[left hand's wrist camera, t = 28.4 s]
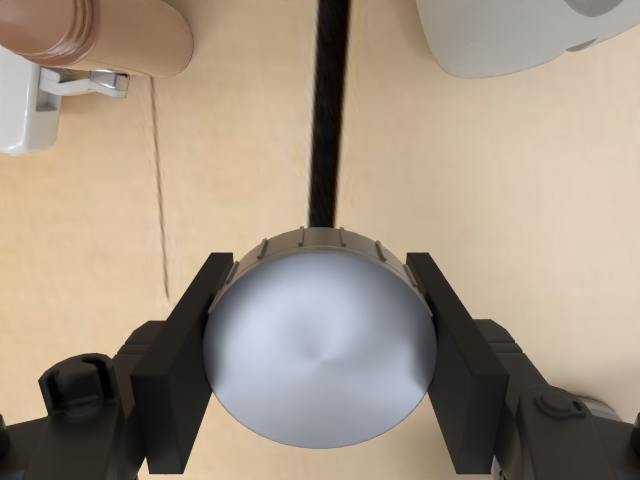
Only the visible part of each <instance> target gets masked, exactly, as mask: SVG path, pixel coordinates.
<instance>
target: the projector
mask: <svg viewBox="0 0 640 480" xmlns="http://www.w3.org/2000/svg"><path fill="white" fill-rule="evenodd" d="M415 1H416V6H417V10H418V14H419V18H420V21H421V25H422V28H423V32H424V35H425V38H426V40H427V43H428V46H429V48H430V51H431V53H432V55H433V57H434V59H435V60H436V62H437V64H438V65H439V66H440V67H441V68H442V69H443V70H444V71H445V72H446V73H448V74H450V75H452V76H455V77H458V78H465V79H484V78H492V77H498V76H503V75H507V74H511V73H515V72H519V71H522V70H525V69H528V68H532V67H535V66H538V65H541V64H544V63H547V62H550V61H552V60H554V59H556V58H557V57H559V56H560V55H561V54H562V53H563V52H564V51H565V50H566V51H570V52H575V51H580V50H582V49H585V48H588V47H590V46H593V45H595V44H598V43H600V42H602V41H605V40H607V39H610V38H612V37H614V36H616V35H618V34H620V33H622V32H625V31H627V30H629V29H631V28H632V27H634V26H636V25H638V24H640V0H415Z"/></svg>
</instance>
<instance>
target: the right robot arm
mask: <svg viewBox="0 0 640 480" xmlns="http://www.w3.org/2000/svg"><path fill="white" fill-rule="evenodd" d="M78 78H79V77H78V75H77V74H75V73H72V72H69V71H67V70H65V69H62V68H51V67H45V66H40V65H38V64H35V63H32V62H30V61H28V60H27V59H25V58H23V57H22V56H20V55H17V54H15V53H13V52H11V51H9V50H8V49H6V48H4V47H2V46H1V45H0V152H1V153H4V154H7V155H12V156H23V155H29V154H34V153H38V152H41V151H43V150H45V149H48V148H50V147H52V146H53V145H54V144H55V142H56V137H57V129H58V122H59V114H60V106H61V99H62V95H81V94H86V93H91V92H96V91H98V92H100V93H103V94H106V95H109V96H112V97H116V98H126V95H127V90H128V84H129V79H130V76H129V75H127V74H116V73H105V72H94V71H91V75H90V78H85V79H80V80H78Z"/></svg>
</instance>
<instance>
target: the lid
mask: <svg viewBox="0 0 640 480" xmlns="http://www.w3.org/2000/svg"><path fill="white" fill-rule="evenodd" d="M207 315H209V316H208V319H207V322H206V325H205V328H204V333H203V338H202V351H203V360H204V368H205V374H206V377H207V380H208V382H209V385H210V387H211V389H212V391H213V393H214V394H215V396H216V397H217V399H218V401H219V402H220V403H221V404H222V406H223V407H224V408H225V409H226V410H227V412H228V413H230V414H231V415H232V416H233V417H234V418H235V419H236V420H237V421H238V422H240V423H241V424H243V425H244V426H245V427H247V428H248V429H250V430H252V431H253V432H255V433H257V434H259V435H261V436H263V437H265V438H268V439H270V440H272V441H276V442H279V443H282V444H285V445H290V446H295V447H301V448H312V449H328V448H338V447H344V446H349V445H354V444H358V443H361V442H364V441H367V440H370V439H372V438H374V437H377V436H379V435H381V434H383V433H384V432H386V431H388V430H390V429H391V428H393V427H394V426H396V425H397V424H398V423H400V422H401V421H403V420H404V419H405V418H406V417H407V416H408V415H409V414H410V413H411V412H412V411H413V410H414V409H415V408H416V406H417V405H418V404H419V403H420V402H421V400H422V399H423V397H424V395H425V394H426V392H427V391H428V388H429V386H430V384H431V382H432V379H433V376H434V373H435V365H436V357H437V348H438V340H437V335H436V330H435V325H434V323H433V320H432V319H434V317H433V314H432V312H431V310H430V308H429V306H428V304H427V302H426V300H425V298H424V296H423V294H420V292H419V290H418V288H417V283H416V281H415V279H414V277H413V275H412V273H411V271H410V269H409V267H408V266H407V264H404V265H403V264H402V262H401V261H400V260H399V259H398V258H397V257H395V256H394V255H393V254H392V253H391V252H390V251H389V250H387V249H386V248H385V247H383V246H382V245H381V242H380V241H378V240H377V241H376V242H375V241H373V240H371V239H369V238H367V237H365V236H362V235H360V234H357V233H354V232H350V231H346V230H344V228H343V227H340V229H334V228H305V229H304V226H303V227H300V229H298V230H294V231H290V232H286V233H283V234H280V235H278V236H275V237H273V238H270V239H268V240H267V239H266V238H265V239H263V241H262V243H261V244H260V245H258V246H257V247H255V248H254V249H253V250H251V251H250V252H249V253H247V254H246V255H245V256H244V257H243V258H242V259H241V260H240V261H239V262H238V261H236V262H235V263H234V265H233V267H232V269H231V271H230V273H229V275H228V277H227V279H226V281H225V284H224V286H223V288H222V290H221V291H220V290H219V291H218V293H217V294H216V296H215V298H214V300H213V302H212V304H211V306H210V308H209V310H208V312H207Z"/></svg>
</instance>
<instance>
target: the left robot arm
mask: <svg viewBox="0 0 640 480" xmlns="http://www.w3.org/2000/svg"><path fill="white" fill-rule="evenodd" d="M406 264H407V266H408V267H409V269H410V271H411V273H412V275H413V277H414V279H415V281H416V283H417V288H418V290H419V292H420V294H423V296H424V298H425V300H426V302H427V304H428V306H429V308H430V310H431V312H432V314H433V317H434V319H432V320H433V323H434V325H435V330H436V335H437V340H438V348H437V357H436V365H435V373H434V376H433V379H432V382H431V384H430V386H429V388H428V391H427V392H428V395H429V398H430V400H431V403H432V406H433V409H434V412H435V414H436V417H437V420H438V423H439V426H440V428H441V431H442V434H443V437H444V440H445V443H446V445H447V448H448V451H449V454H450V457H451V459H452V462H453V465H454V468H455V471H456V473H457V474H490V473H491V474H492V476H493V478H494V480H640V412H639V413H638V416H637V418H636V421H635V424H630V423H625V422H623V421H622V420H621V419H620V418H619V417H618V416H617V414H616V413H615V412H614V411H613V410H611V409H610V408H609V407H607V406H606V405H604V404H602V403H600V402H598V401H596V400H593V399H589V398H585V397H578V396H575V395H573V394H571V393H569V392H567V391H565V390H563V389H560V388H557V387H554V386H550V385H549V384H548V383H547V382H546V380H545V379H544V378H543V376H542V375H541V374H540V373H539V371H538V370H537V369H536V367H535V366H534V365H533V364H532V362H531V361H530V360H529V358H528V357H527V356H526V355H525V353H523V351H522V349H521V348H520V347H519V346H518V344H517V343H515V340H514V339H513V338H512V337H511V335H510V334H509V333H508V331H507V330H506V329H505V328H503V327H502V326H500V325H499V324H497V323H496V322H494V321H493V320H491V319H472V317H471V316H470V314H469V313H468V311H467V310H466V308H465V307H464V305H463V304H462V302H461V301H460V299H459V298H458V296H457V295H456V293H455V292H454V290H453V289H452V287H451V286H450V284H449V283H448V281H447V280H446V278H445V277H444V275H443V274H442V272H441V271H440V269H439V268H438V266H437V265H436V263H435V262H434V260H433V259H432V257H431V256H430V254H429V253H407V259H406ZM233 265H234V262H233V253H211V254H210V256H209V257H208V259H207V260H206V262H205V263H204V265H203V266H202V268H201V269H200V271H199V272H198V274H197V275H196V277H195V278H194V280H193V281H192V283H191V284H190V286H189V287H188V289H187V290H186V292H185V293H184V295H183V296H182V298H181V299H180V301H179V302H178V304H177V305H176V307H175V308H174V310H173V311H172V313H171V314H170V316H169V317H168V319H167V320H166V321H148V322H146V323H145V324H143V325H142V326H140V327H139V328H137V329H136V330H134V331H133V333H132V334H131V335H130V337H129V338H128V339H127V340H126V342H125V345H123V346H122V347H121V348H120V349H119V351H118V352H117V355H115V356H114V357H113V359H111V358H110V357H108V356H107V355H104V354H99V353H90V354H81V355H78V356H74V357H70V358H68V359H66V360H63V361H61V362H59V363H57V364H55V365H54V366H52V367H51V368H50V369H48V370H47V371H45V372H44V374H43V375H42V376H41V377H40V379H39V380H38V382H39V385H40V389H41V392H42V395H43V399H44V402H45V405H46V409H47V412H48V416H47V417H43V418H40V419H36V420H31V421H27V422H22V423H18V424H14V425H9V426H6V425H5V422H4V419H3V416H2V415H1V414H0V480H139V479H138V475H137V473H138V471H139V469H140V467H141V465H142V463H143V461H144V459H145V457H146V459H147V464H148V469H149V474H183V473H184V470H185V467H186V464H187V461H188V459H189V456H190V453H191V450H192V447H193V445H194V442H195V439H196V436H197V433H198V431H199V428H200V425H201V422H202V419H203V417H204V414H205V411H206V408H207V405H208V403H209V400H210V397H211V394H212V389H211V387H210V385H209V382H208V380H207V377H206V374H205V368H204V360H203V351H202V338H203V333H204V328H205V325H206V322H207V319H208V316H209V315H207V312H208V310H209V308H210V306H211V304H212V302H213V300H214V298H215V296H216V294H217V293H218V291H219V290H220V291H221V290H222V288H223V286H224V284H225V281H226V279H227V277H228V275H229V273H230V271H231V269H232V267H233Z"/></svg>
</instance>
